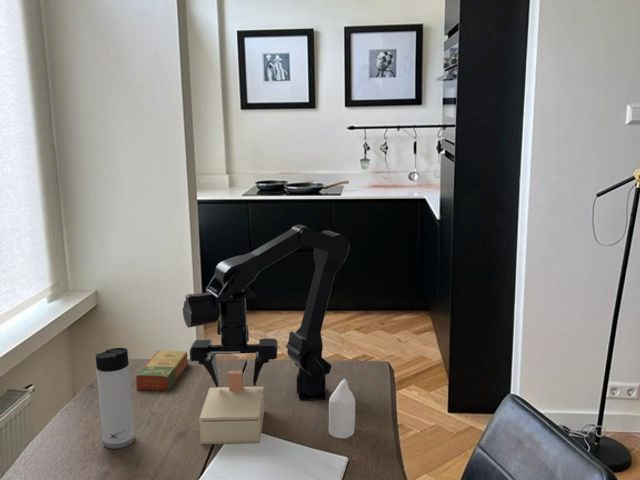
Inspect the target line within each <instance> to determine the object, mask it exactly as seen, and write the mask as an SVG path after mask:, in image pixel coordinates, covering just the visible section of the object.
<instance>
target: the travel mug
mask: <svg viewBox="0 0 640 480" xmlns="http://www.w3.org/2000/svg"><path fill="white" fill-rule="evenodd" d="M95 363H96V366H95V367H96V378H97V392H98V400H99V401H98V403H99V412H100V413H99V414H100V424H101V425H100V426H101V433H102V444H103V446H104V447H106V448H108V449H113V450H115V449H122V448H126V447H127V446H130V445H131V444H132V443H133V442H134V441H135V440H136V437H135V434H136V433H135V422H134V413H133V412H134V411H133V398H132V397H133V396H132V390H131V389H132V388H131V387H132V385H131V374H130V363H129V353H128V348H126V347H115V348H110V349H106V350H105V351H103V352H100V353H99V352H98V353H97V354H96V355H95Z"/></svg>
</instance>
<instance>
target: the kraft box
mask: <svg viewBox="0 0 640 480" xmlns="http://www.w3.org/2000/svg"><path fill="white" fill-rule="evenodd" d="M264 393H265V392H264V389H263V396H262V403H261V410H260V417H259V419H253V420H208V421H200V420H199V435H200V445H205V446H206V445H233V444H234V445H236V444H237V445H240V444H241V445H242V444H243V445H244V444H260V443H261V438H262V431H263V424H264V423H263V422H264V415H265V396H264V395H265V394H264Z"/></svg>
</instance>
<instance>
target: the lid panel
mask: <svg viewBox="0 0 640 480" xmlns="http://www.w3.org/2000/svg"><path fill="white" fill-rule="evenodd" d="M243 372H244V371H243V370H228V374H227V375H228V376H227V377H228V380H227V381H228V386H227V387H222V386H221V387H220V386H218V387H209V389H208V391H207V395H206V398H205V400H204V404H203V405H202V409H201V412H200V416H199V418H198V419H199V422H200V421H208V420H253V419H259V417H260V410H261V403H262V396H263V390H264V386H244V373H243Z"/></svg>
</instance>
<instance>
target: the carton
mask: <svg viewBox="0 0 640 480" xmlns="http://www.w3.org/2000/svg"><path fill="white" fill-rule="evenodd" d="M188 360H189V359H188V352H187V351H184V350H157V351H156V352H155V353H154V355H152V357H150V359H149V360H148V361H147V362H146V364H144V366H143V367H142V368H141V369H140V370H139V371H138V373H137V374H136V375H135V378H136V379H135V382H136V385H135V386H136V390H139V391H143V390H144V391H170V389H171V388H172V387H173V385H174V384H175V383H176V381H177V380H178V379H179V377H180V376H181V374H182V373H183V372H184V371H185V369H186V368H187V366H188V365H189V363H188Z"/></svg>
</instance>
